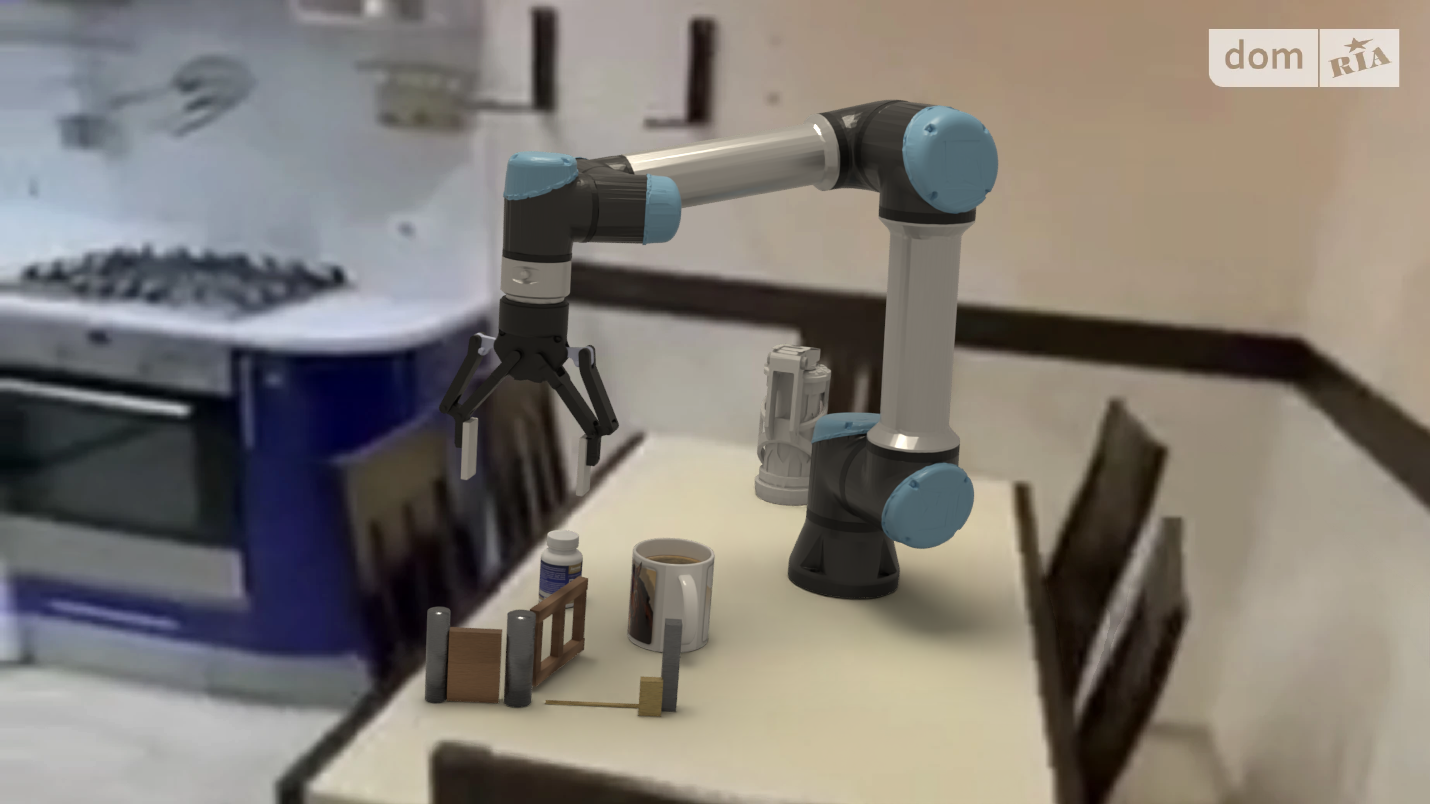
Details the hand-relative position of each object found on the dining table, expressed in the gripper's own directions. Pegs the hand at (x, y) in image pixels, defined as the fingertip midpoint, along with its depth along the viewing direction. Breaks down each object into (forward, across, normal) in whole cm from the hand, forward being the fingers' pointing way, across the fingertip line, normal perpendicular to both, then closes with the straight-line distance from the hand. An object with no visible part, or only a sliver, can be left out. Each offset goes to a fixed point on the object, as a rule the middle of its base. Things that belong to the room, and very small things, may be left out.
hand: (525, 484), depth 177 cm
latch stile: (+21, +19, -7) cm, 29 cm away
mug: (+21, +15, +12) cm, 28 cm away
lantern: (+21, +18, +75) cm, 80 cm away
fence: (+21, +6, -10) cm, 24 cm away
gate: (+20, +5, -2) cm, 21 cm away
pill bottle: (+21, -1, +19) cm, 28 cm away
